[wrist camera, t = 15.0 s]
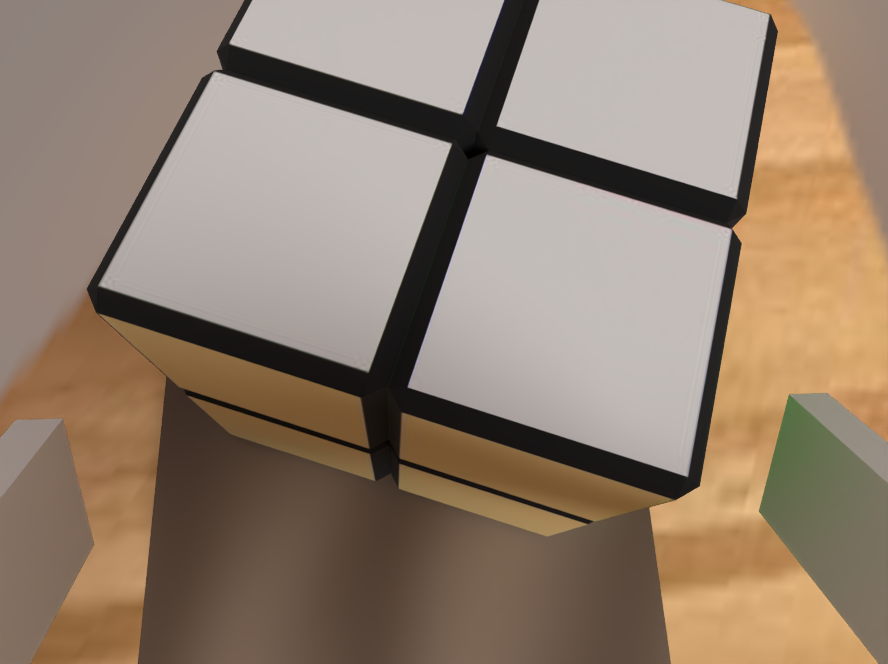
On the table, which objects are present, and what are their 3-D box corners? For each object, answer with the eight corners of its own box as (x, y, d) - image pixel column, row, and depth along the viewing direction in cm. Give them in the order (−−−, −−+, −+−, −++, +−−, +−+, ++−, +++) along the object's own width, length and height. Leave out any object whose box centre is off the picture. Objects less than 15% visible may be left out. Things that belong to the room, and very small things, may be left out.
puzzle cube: (341, 154, 23) (306, -135, 14) (626, 241, 23) (789, 5, 13) (221, 433, 20) (66, 300, 10) (555, 541, 19) (708, 505, 10)
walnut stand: (195, 701, 23) (129, 742, 17) (223, 308, 27) (180, 238, 22) (609, 678, 24) (676, 708, 18) (568, 304, 28) (611, 236, 23)
